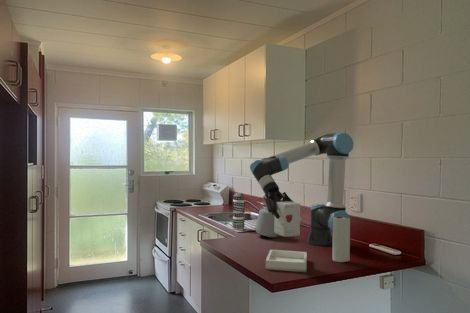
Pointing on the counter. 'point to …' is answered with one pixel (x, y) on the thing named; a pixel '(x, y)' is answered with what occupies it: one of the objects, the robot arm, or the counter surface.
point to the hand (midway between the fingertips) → (291, 222)
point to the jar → (265, 223)
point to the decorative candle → (238, 211)
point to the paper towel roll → (341, 239)
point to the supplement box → (288, 219)
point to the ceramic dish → (286, 260)
